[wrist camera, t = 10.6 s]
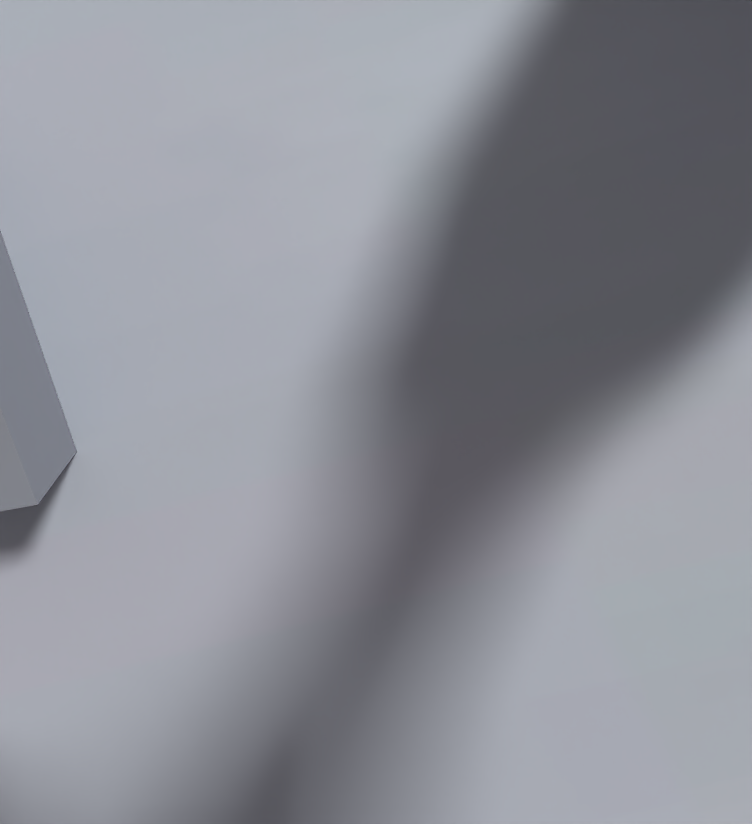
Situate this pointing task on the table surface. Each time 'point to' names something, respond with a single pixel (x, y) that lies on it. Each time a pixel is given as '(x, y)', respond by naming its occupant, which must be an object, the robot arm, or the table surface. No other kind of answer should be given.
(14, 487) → the slate block
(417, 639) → the table surface
